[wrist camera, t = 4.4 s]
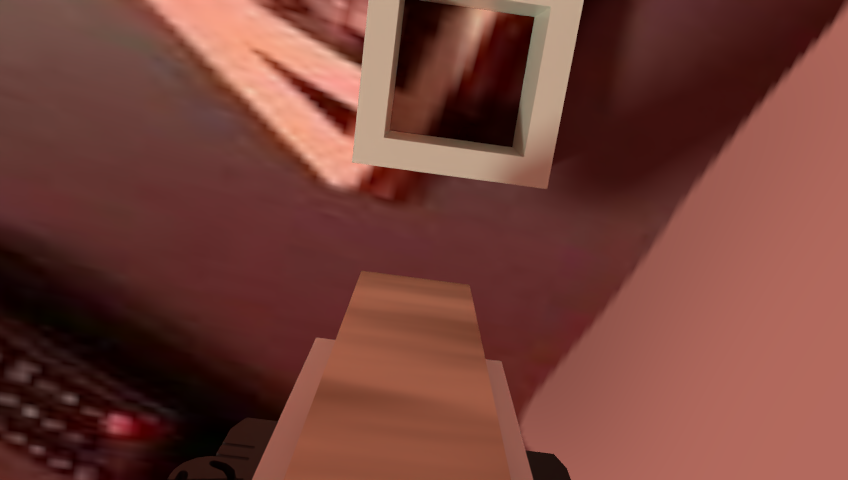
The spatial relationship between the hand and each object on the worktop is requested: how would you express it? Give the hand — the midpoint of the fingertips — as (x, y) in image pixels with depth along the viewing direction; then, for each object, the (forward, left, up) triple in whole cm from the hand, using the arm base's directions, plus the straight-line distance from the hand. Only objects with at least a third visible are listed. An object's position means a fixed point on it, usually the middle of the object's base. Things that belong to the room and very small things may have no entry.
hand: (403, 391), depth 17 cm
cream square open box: (+9, -1, -15) cm, 18 cm away
